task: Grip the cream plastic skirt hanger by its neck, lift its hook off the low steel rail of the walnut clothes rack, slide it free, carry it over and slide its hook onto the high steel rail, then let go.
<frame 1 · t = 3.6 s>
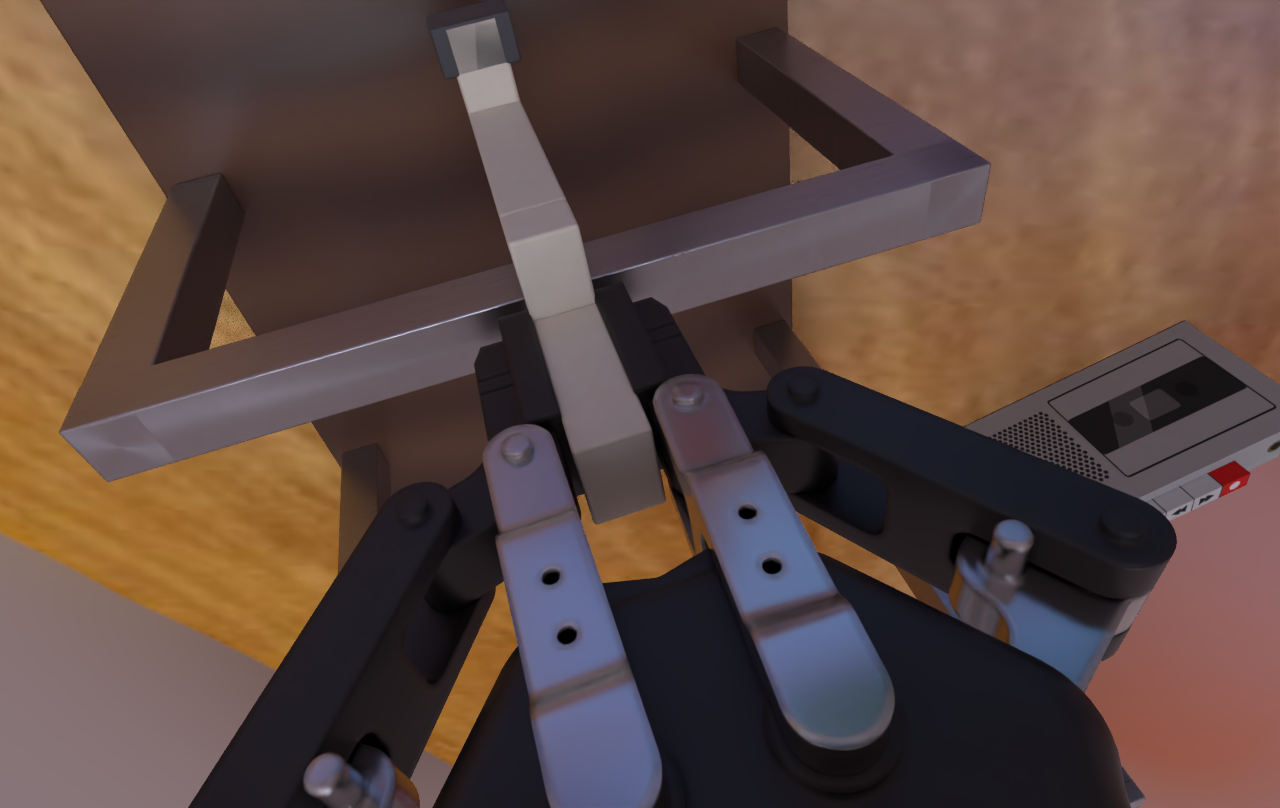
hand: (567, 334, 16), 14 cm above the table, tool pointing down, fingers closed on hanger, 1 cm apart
rack: (533, 262, 31), on the table
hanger: (563, 318, 17), point 14 cm above the table, touching gripper
cassette player: (1066, 388, 48), on the table
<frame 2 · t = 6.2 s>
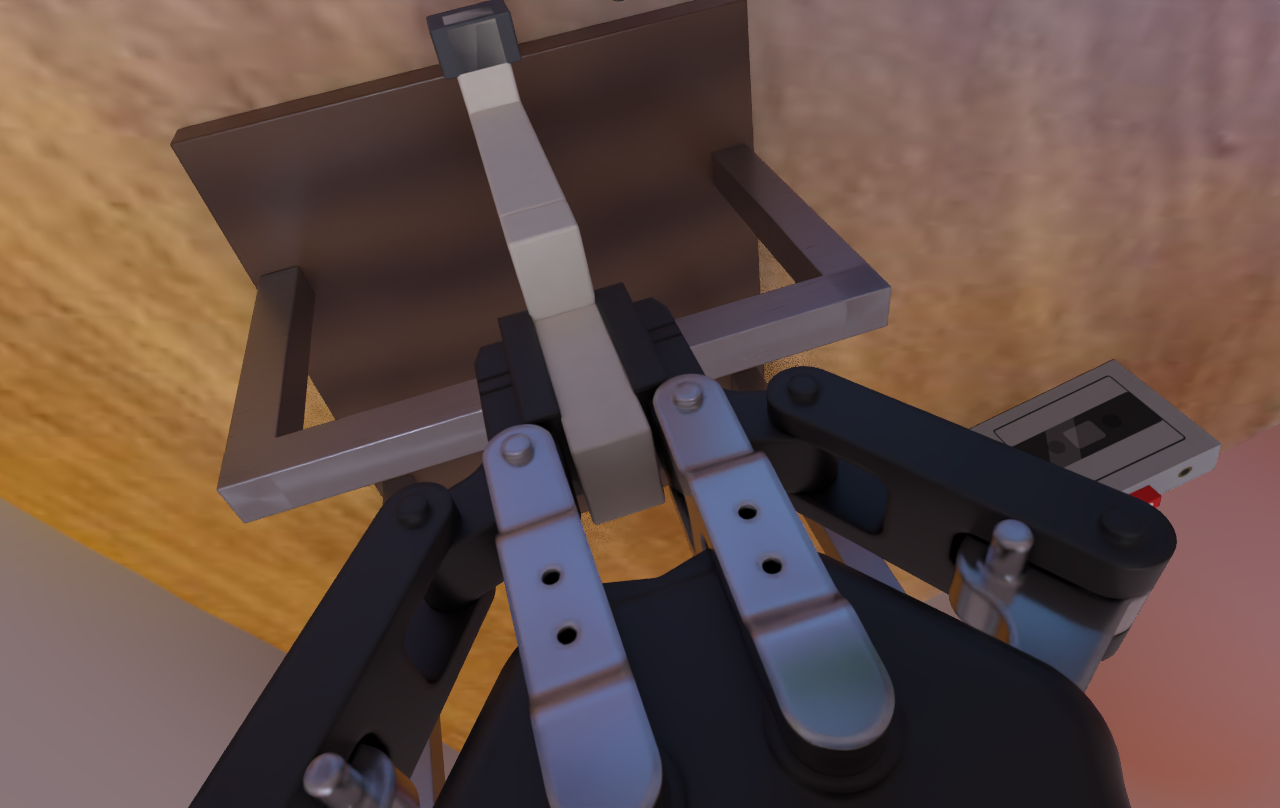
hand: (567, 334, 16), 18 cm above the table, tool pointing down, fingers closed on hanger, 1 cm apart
rack: (545, 324, 37), on the table
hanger: (563, 318, 17), point 17 cm above the table, touching gripper
cassette player: (1011, 418, 54), on the table
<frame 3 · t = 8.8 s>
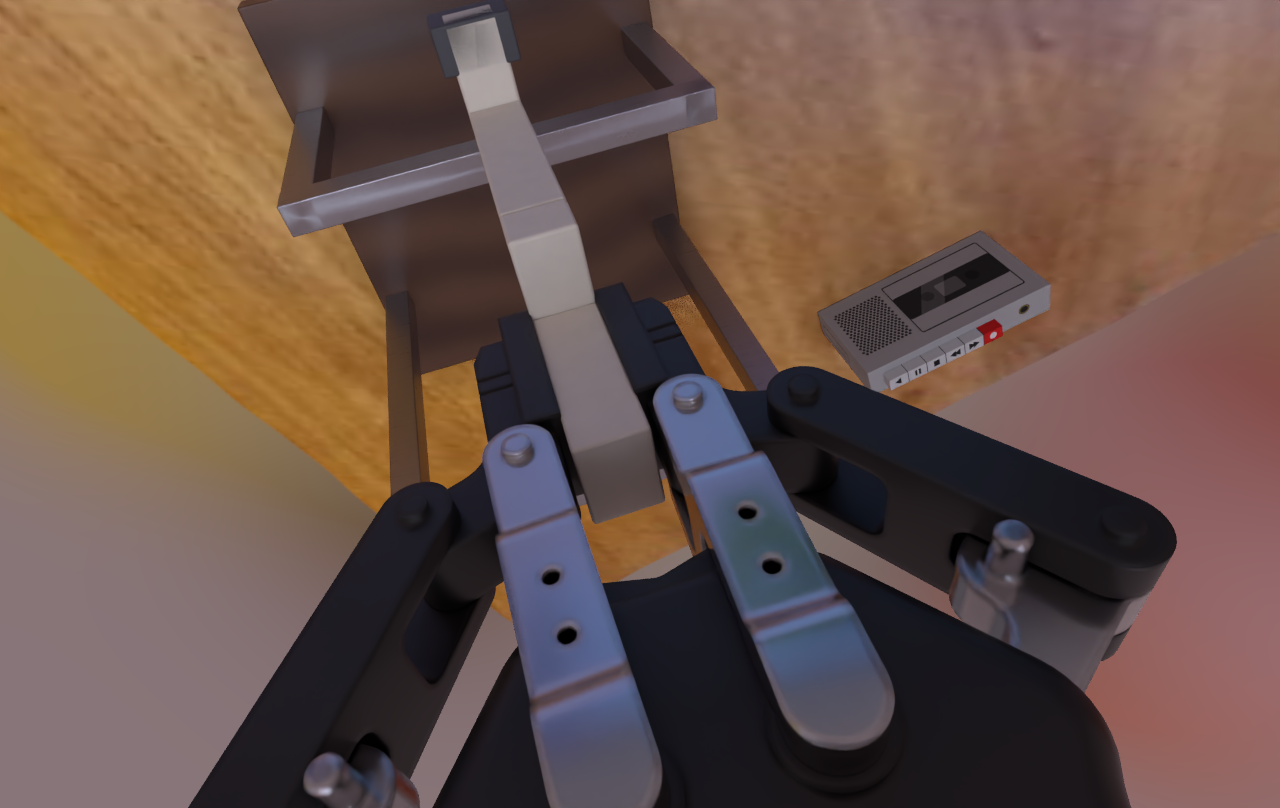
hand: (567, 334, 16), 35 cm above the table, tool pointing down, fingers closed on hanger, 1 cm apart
rack: (506, 171, 50), on the table
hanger: (563, 317, 17), point 34 cm above the table, touching gripper
cassette player: (899, 282, 66), on the table
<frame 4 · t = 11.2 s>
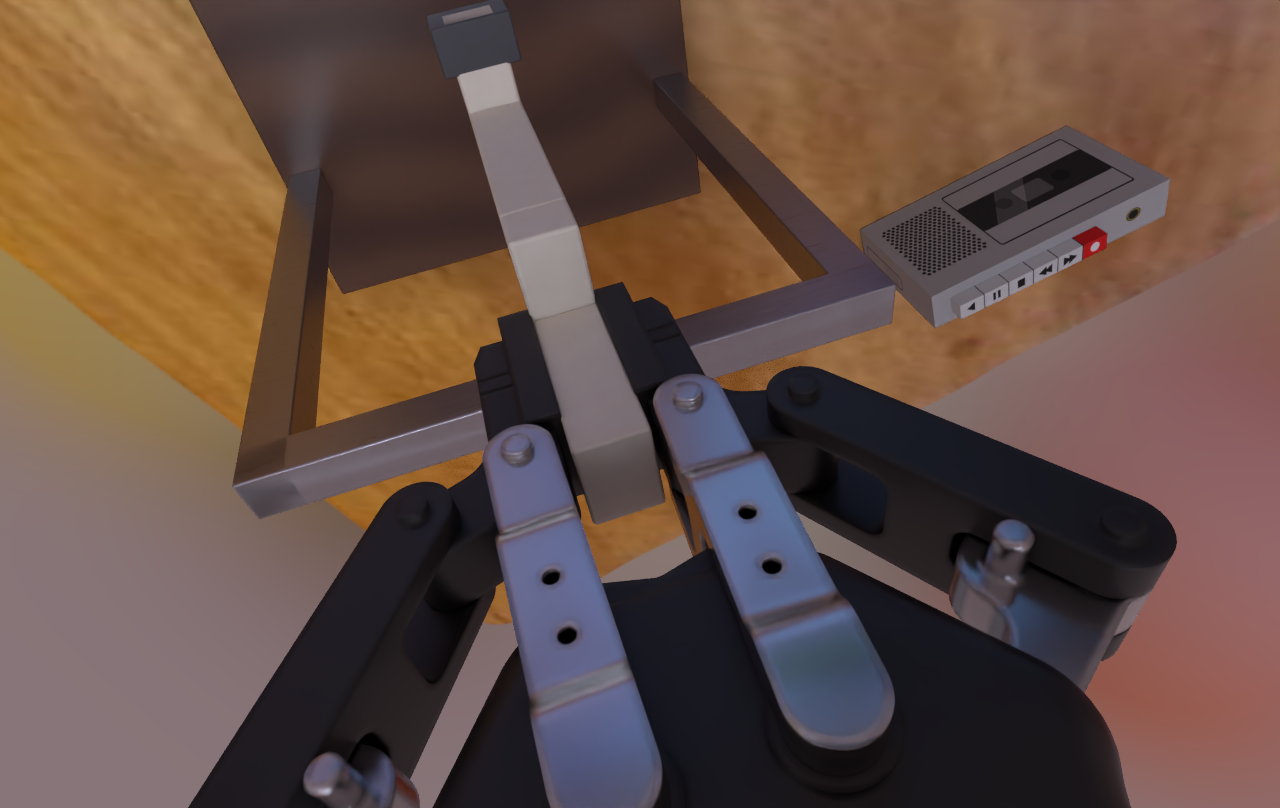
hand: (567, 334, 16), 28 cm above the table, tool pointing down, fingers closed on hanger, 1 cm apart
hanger: (563, 318, 17), point 27 cm above the table, touching gripper
cassette player: (961, 192, 52), on the table
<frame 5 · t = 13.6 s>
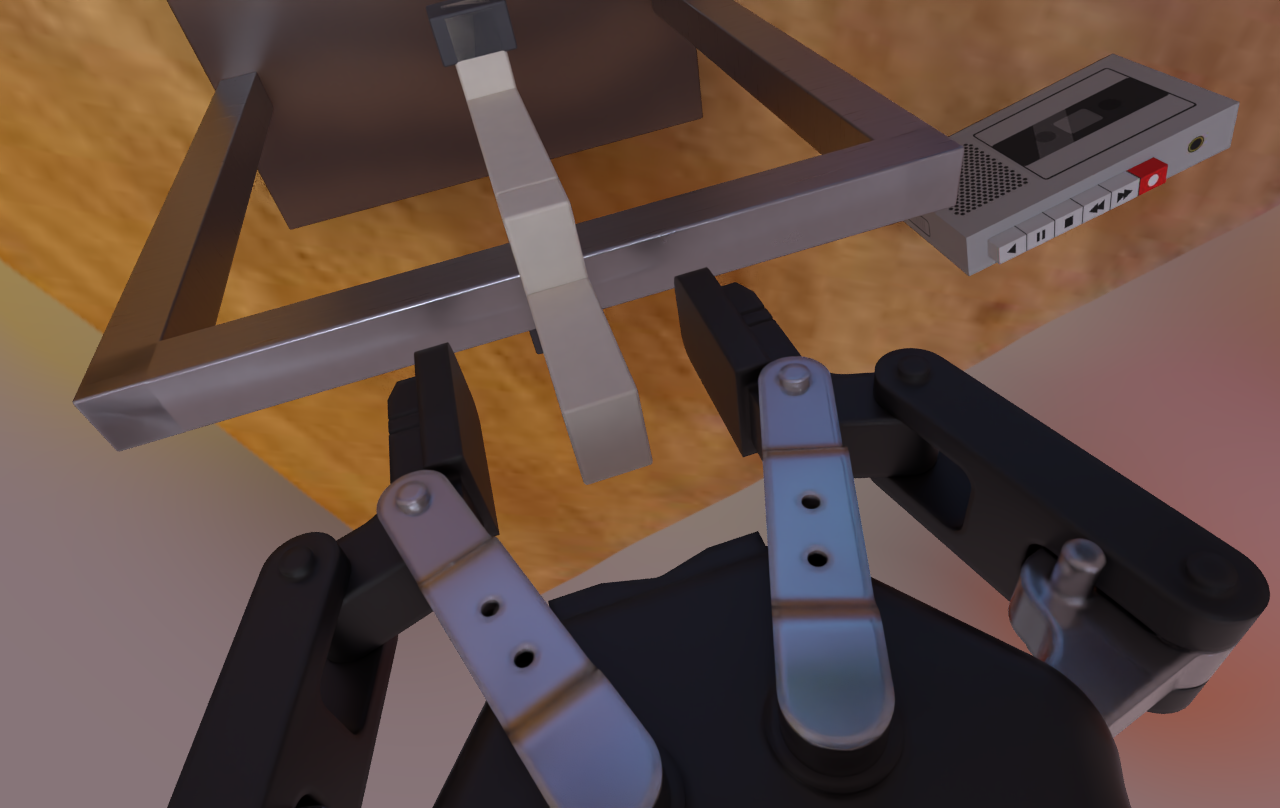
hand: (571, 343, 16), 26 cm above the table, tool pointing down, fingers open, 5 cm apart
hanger: (557, 294, 17), point 24 cm above the table, touching rack
cassette player: (994, 131, 47), on the table
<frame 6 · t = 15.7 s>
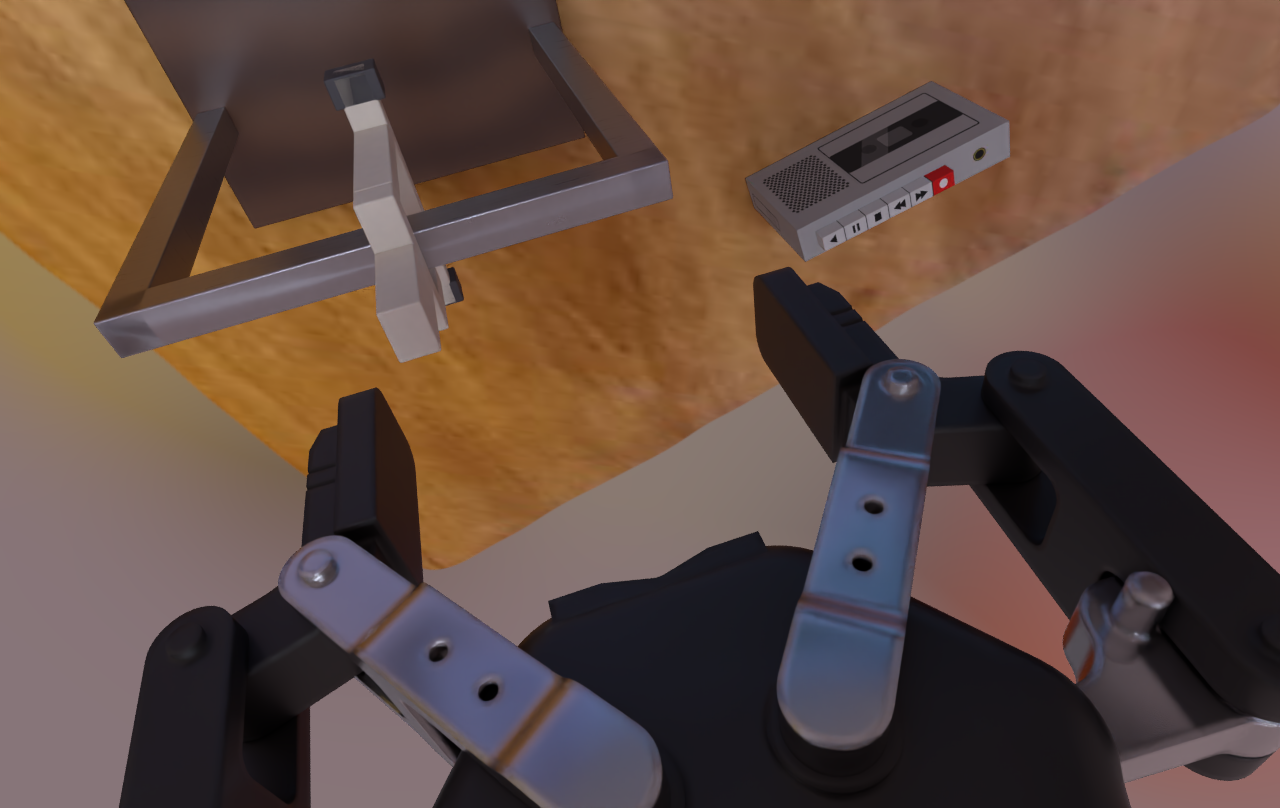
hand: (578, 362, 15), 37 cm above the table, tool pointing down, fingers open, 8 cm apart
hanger: (402, 256, 27), point 24 cm above the table, touching rack
cassette player: (839, 144, 57), on the table
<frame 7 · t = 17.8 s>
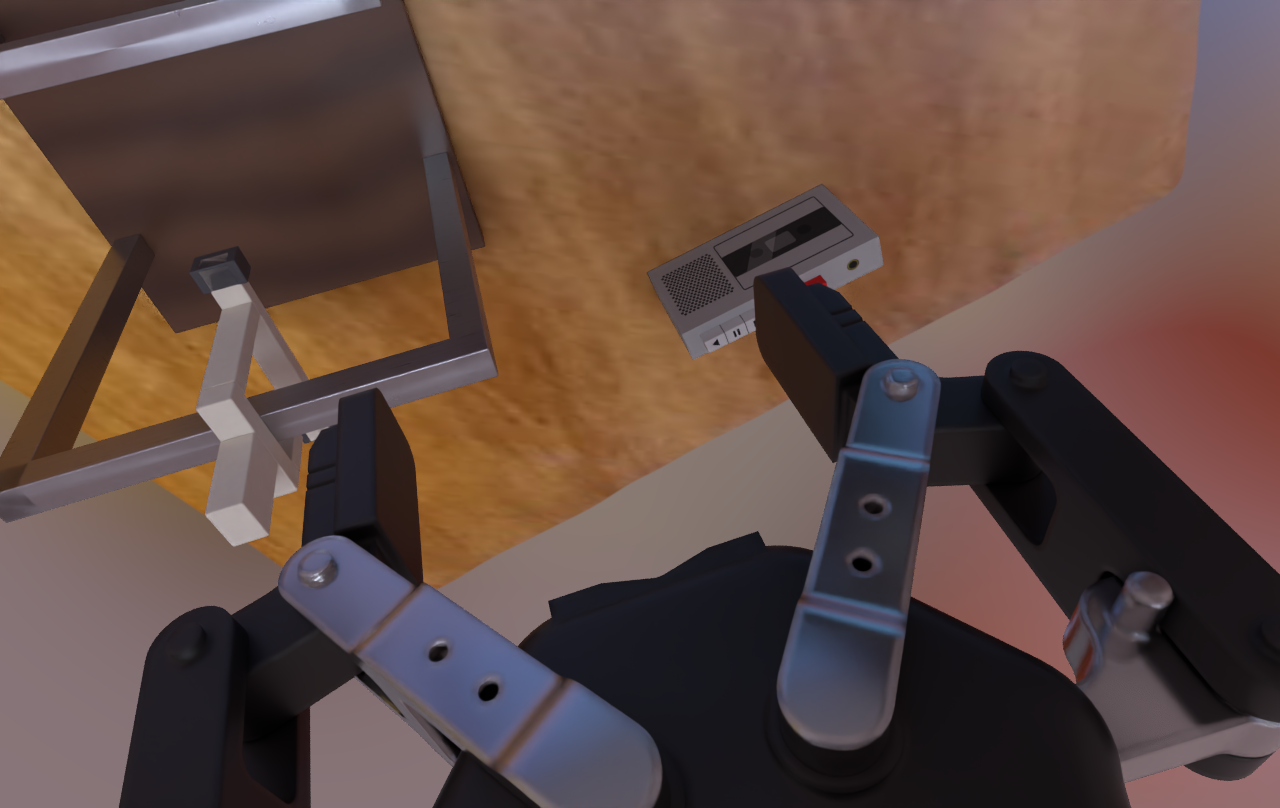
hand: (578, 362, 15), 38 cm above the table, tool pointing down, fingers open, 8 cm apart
rack: (240, 97, 44), on the table
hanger: (253, 433, 31), point 24 cm above the table, touching rack
cassette player: (737, 240, 61), on the table
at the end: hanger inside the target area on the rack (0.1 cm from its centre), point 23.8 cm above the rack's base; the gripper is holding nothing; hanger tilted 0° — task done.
